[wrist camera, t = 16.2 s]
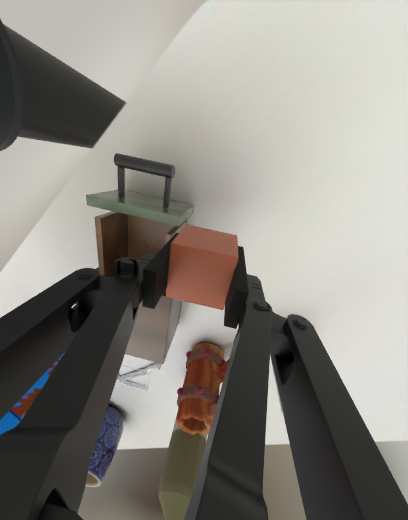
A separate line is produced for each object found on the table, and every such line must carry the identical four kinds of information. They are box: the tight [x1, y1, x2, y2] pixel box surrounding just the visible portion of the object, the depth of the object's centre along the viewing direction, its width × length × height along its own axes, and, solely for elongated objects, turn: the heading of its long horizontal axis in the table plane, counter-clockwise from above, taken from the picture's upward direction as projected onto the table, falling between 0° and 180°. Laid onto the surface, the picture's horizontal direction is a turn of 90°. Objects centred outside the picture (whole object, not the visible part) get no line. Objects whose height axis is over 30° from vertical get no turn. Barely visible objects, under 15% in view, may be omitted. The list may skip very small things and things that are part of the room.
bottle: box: [158, 417, 207, 520], centre depth 33 cm, size 7×7×30 cm
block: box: [166, 225, 238, 310], centre depth 15 cm, size 4×4×4 cm
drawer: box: [86, 153, 194, 293], centre depth 27 cm, size 18×11×8 cm, turn 169°
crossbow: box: [117, 363, 161, 390], centre depth 49 cm, size 16×13×2 cm
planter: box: [85, 404, 123, 487], centre depth 56 cm, size 17×17×15 cm
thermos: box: [0, 352, 65, 435], centre depth 37 cm, size 11×11×25 cm
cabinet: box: [96, 267, 182, 364], centre depth 33 cm, size 15×13×10 cm
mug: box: [176, 343, 229, 435], centre depth 35 cm, size 15×8×15 cm, turn 116°
